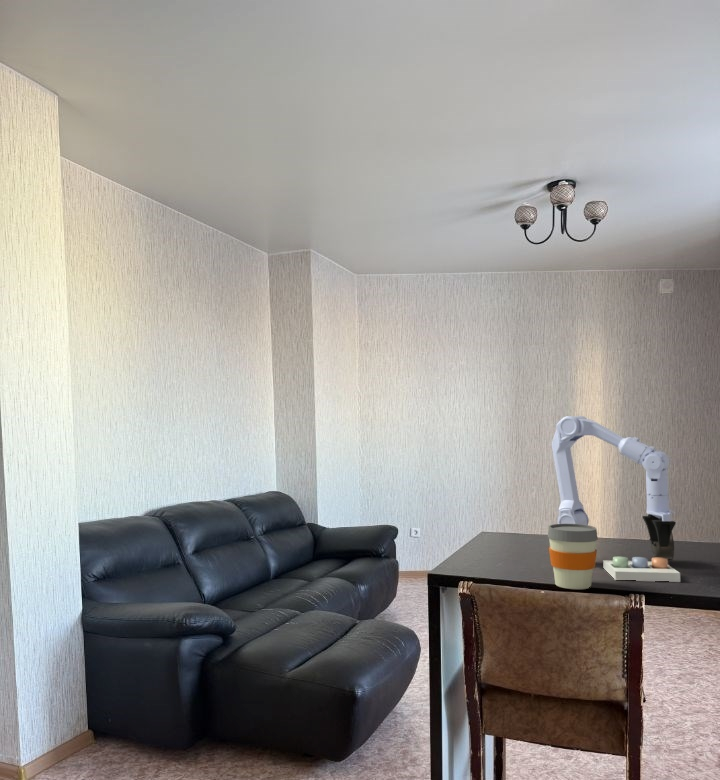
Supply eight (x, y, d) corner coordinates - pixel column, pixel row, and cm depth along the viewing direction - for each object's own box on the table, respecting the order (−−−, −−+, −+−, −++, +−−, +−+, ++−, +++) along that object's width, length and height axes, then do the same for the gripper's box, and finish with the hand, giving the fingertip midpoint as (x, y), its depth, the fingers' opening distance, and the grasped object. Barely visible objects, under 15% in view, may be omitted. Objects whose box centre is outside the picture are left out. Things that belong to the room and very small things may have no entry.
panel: (615, 580, 183) (615, 571, 183) (603, 568, 197) (603, 560, 197) (680, 582, 181) (680, 573, 181) (663, 570, 195) (663, 561, 195)
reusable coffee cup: (541, 579, 185) (540, 523, 185) (586, 578, 185) (586, 523, 186) (558, 591, 172) (557, 531, 173) (606, 590, 173) (605, 531, 173)
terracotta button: (654, 571, 187) (654, 560, 187) (649, 567, 191) (649, 557, 191) (669, 571, 186) (669, 560, 186) (664, 568, 190) (664, 557, 190)
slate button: (634, 570, 187) (634, 559, 188) (630, 567, 191) (630, 556, 192) (649, 571, 187) (649, 560, 187) (645, 567, 191) (645, 557, 191)
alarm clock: (675, 567, 198) (674, 511, 198) (655, 567, 199) (654, 511, 200) (666, 560, 209) (665, 506, 209) (647, 559, 210) (646, 506, 210)
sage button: (615, 570, 188) (614, 559, 188) (611, 567, 192) (611, 556, 192) (630, 570, 188) (629, 559, 188) (626, 567, 192) (626, 556, 192)
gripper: (681, 497, 182) (683, 548, 181) (664, 491, 196) (665, 539, 196) (654, 497, 183) (656, 548, 182) (638, 491, 197) (640, 539, 197)
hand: (659, 544), depth 189 cm, fingers open, 7 cm apart
